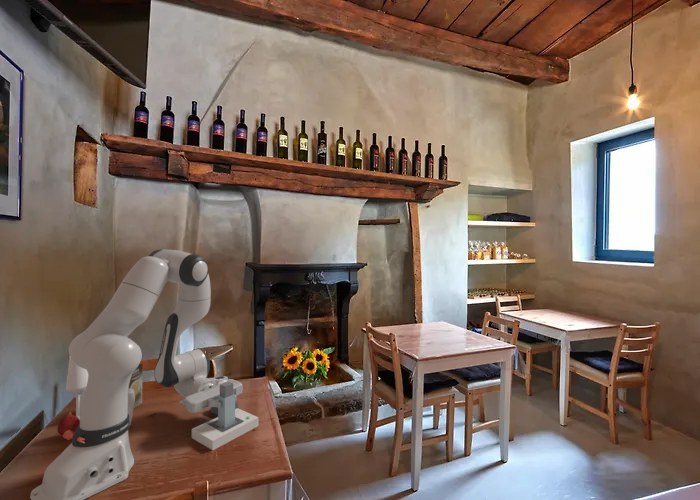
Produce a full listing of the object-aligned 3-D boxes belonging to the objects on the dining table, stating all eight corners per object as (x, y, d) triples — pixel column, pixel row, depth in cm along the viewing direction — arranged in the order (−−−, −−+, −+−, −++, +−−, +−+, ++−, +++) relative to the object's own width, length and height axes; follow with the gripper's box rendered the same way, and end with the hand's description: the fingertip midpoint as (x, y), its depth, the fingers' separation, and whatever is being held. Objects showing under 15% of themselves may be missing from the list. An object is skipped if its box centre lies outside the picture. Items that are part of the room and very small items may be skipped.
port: (212, 450, 106) (212, 439, 106) (191, 437, 113) (191, 427, 112) (258, 425, 120) (258, 416, 120) (237, 416, 127) (237, 407, 127)
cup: (119, 435, 114) (119, 400, 114) (97, 432, 116) (97, 397, 115) (141, 422, 123) (141, 389, 122) (120, 419, 124) (120, 386, 124)
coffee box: (127, 413, 128) (127, 371, 128) (110, 413, 129) (110, 371, 129) (143, 402, 138) (143, 363, 138) (127, 402, 138) (127, 363, 138)
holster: (221, 417, 126) (221, 409, 126) (209, 411, 131) (209, 403, 131) (238, 409, 132) (238, 402, 132) (226, 404, 137) (226, 397, 136)
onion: (56, 443, 109) (56, 419, 109) (58, 435, 114) (58, 411, 113) (79, 437, 112) (79, 413, 112) (80, 430, 117) (80, 407, 117)
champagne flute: (84, 424, 121) (84, 357, 121) (61, 426, 119) (61, 359, 119) (93, 415, 127) (93, 351, 127) (72, 417, 125) (72, 353, 125)
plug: (225, 428, 114) (224, 387, 114) (218, 424, 116) (217, 384, 116) (235, 423, 117) (235, 383, 117) (228, 419, 119) (228, 380, 119)
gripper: (177, 393, 115) (199, 404, 107) (229, 374, 132) (251, 382, 124) (177, 411, 115) (199, 423, 107) (229, 390, 132) (251, 400, 124)
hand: (228, 401), depth 116 cm, fingers closed on plug, 4 cm apart
